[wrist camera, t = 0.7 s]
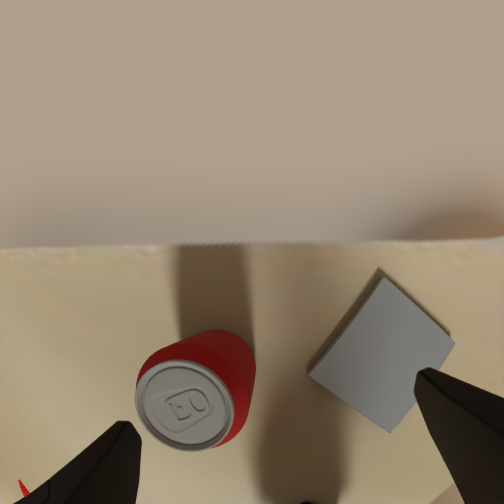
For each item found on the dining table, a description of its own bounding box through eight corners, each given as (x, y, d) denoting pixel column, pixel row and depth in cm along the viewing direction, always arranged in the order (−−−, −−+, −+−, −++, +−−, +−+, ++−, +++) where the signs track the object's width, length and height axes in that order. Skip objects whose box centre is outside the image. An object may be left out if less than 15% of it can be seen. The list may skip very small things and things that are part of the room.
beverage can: (170, 347, 25) (103, 373, 13) (234, 315, 26) (206, 324, 14) (205, 410, 24) (164, 473, 12) (269, 380, 24) (271, 437, 12)
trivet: (386, 429, 23) (390, 433, 22) (307, 373, 24) (308, 375, 23) (450, 342, 24) (455, 342, 23) (380, 277, 25) (384, 276, 24)
